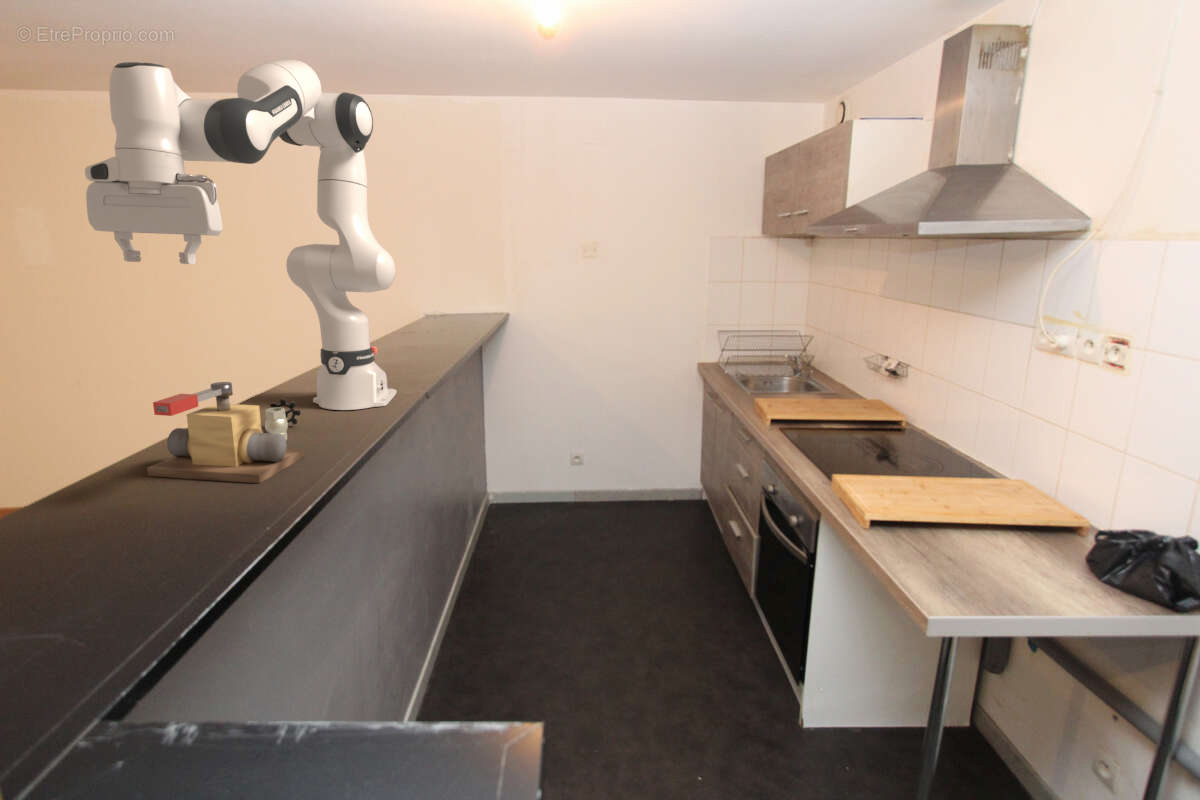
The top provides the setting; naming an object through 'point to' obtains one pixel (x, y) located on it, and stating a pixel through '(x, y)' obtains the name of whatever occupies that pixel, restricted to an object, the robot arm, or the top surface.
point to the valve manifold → (225, 446)
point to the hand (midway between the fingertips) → (160, 262)
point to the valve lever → (190, 399)
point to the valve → (280, 417)
